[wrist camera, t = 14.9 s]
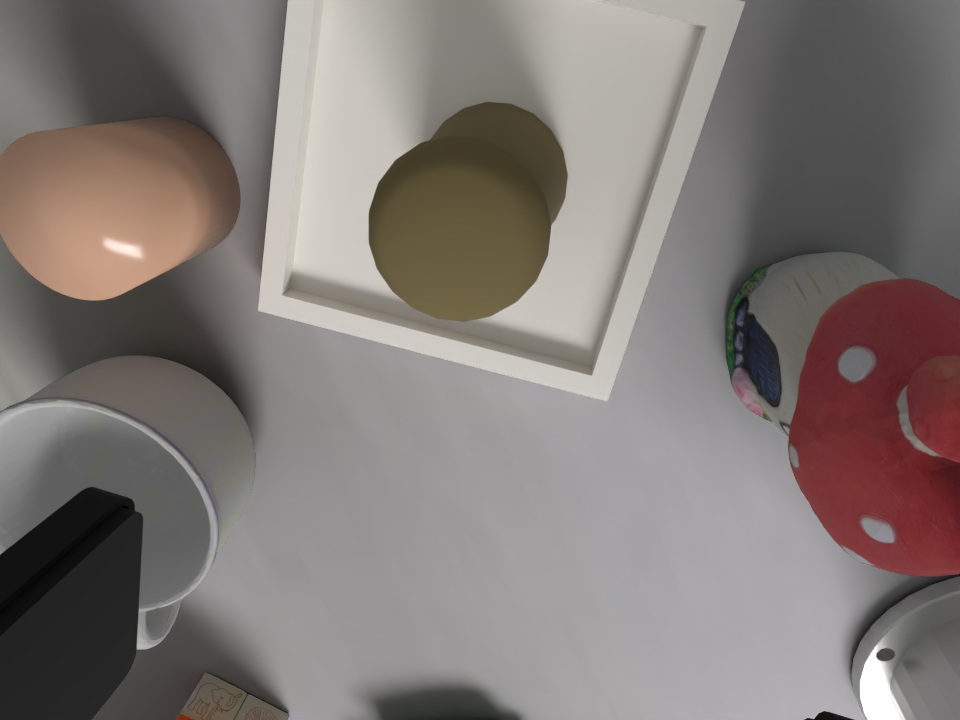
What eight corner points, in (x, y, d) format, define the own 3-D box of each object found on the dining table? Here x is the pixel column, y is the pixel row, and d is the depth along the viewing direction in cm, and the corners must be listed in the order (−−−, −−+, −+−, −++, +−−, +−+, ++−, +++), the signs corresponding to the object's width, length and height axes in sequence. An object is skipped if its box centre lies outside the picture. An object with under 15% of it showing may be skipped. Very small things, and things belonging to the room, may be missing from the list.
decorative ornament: (738, 213, 28) (896, 355, 14) (908, 215, 27) (1246, 366, 14) (711, 415, 32) (817, 680, 18) (860, 421, 31) (1089, 703, 17)
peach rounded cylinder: (245, 135, 29) (155, 155, 23) (235, 267, 32) (150, 317, 25) (111, 101, 29) (-16, 111, 23) (111, 235, 32) (-4, 277, 26)
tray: (734, 5, 25) (745, 1, 24) (605, 384, 32) (607, 401, 30) (315, -98, 26) (298, -109, 24) (274, 297, 32) (257, 310, 30)
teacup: (77, 310, 34) (-59, 378, 26) (290, 355, 33) (211, 437, 26) (94, 534, 39) (-15, 640, 32) (275, 575, 39) (208, 693, 32)
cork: (570, 249, 29) (570, 347, 19) (429, 257, 30) (356, 355, 20) (564, 94, 26) (560, 113, 16) (411, 108, 27) (319, 134, 17)
